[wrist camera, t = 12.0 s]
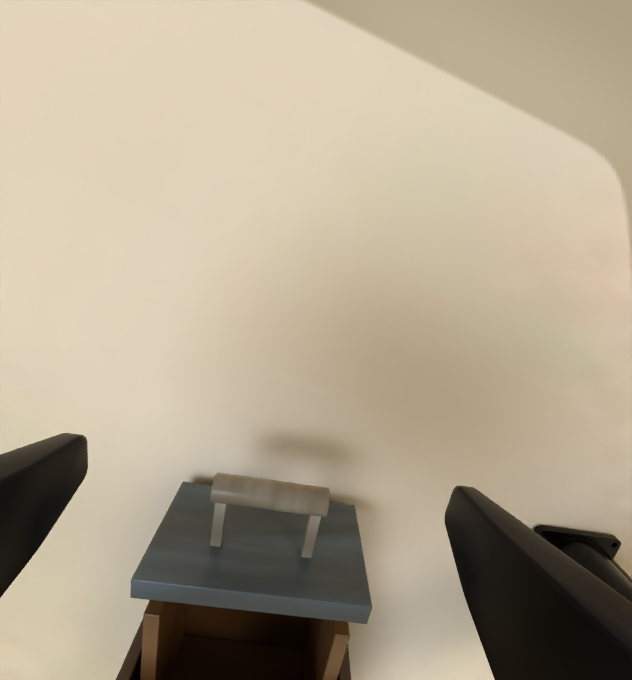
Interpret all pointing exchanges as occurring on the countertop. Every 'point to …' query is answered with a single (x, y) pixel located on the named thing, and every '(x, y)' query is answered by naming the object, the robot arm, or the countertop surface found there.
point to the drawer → (251, 583)
